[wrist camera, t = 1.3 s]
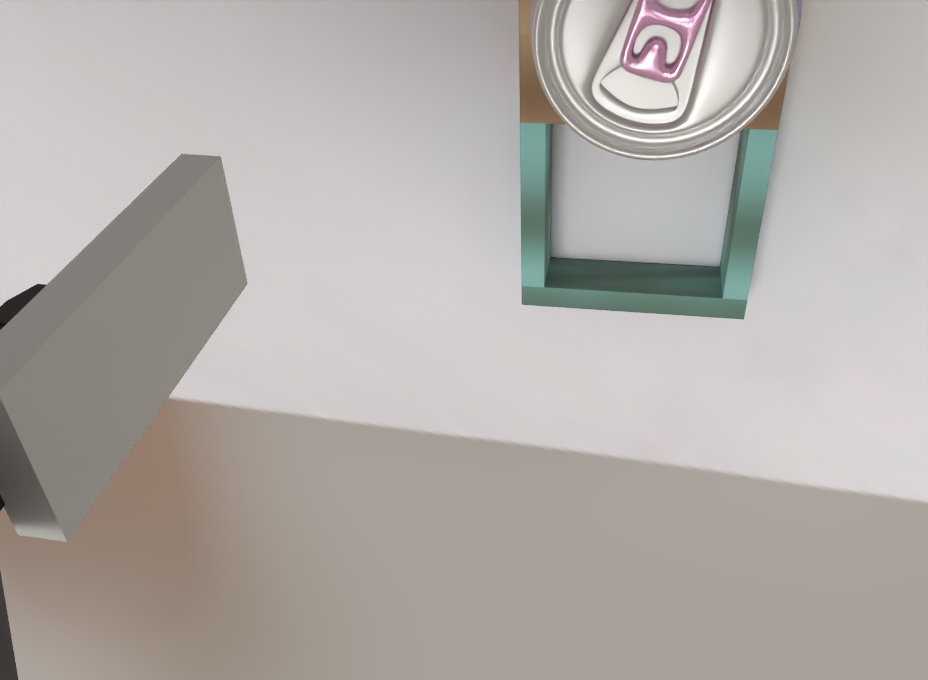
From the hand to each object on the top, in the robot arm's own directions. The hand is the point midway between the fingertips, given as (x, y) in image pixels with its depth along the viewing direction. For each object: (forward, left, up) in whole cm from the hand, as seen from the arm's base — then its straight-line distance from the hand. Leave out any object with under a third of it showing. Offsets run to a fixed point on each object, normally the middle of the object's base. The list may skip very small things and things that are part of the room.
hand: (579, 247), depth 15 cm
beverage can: (-2, +1, -21) cm, 21 cm away
